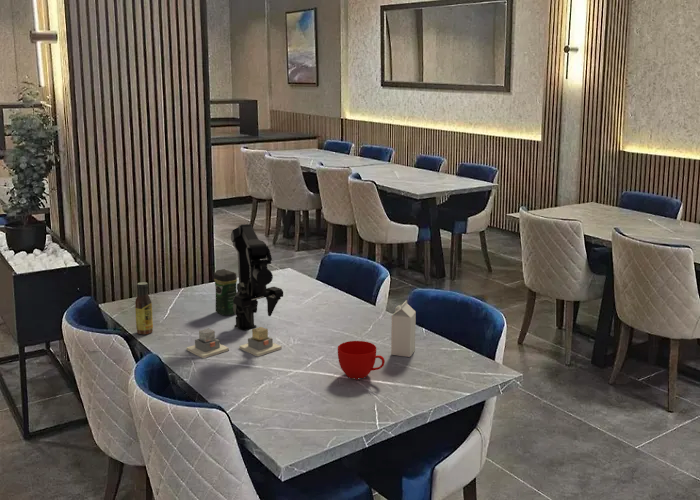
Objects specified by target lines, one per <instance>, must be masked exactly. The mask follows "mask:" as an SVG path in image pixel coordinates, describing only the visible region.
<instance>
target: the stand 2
mask: <svg viewBox="0 0 700 500" xmlns="http://www.w3.org/2000/svg"><path fill="white" fill-rule="evenodd" d="M273 339H274V338H272V337H270V336H268V339H267V340H263V341H260V342H258V341H256V340H253V338H252V337H251V336H250V337H247V343H244V344H241V345H239V346H238V347H239V349H240V350H241V351H244V352H246V353H249V354H251V355H253V356H255V357H261V356H263V355H267V354H270V353H273V352H276V351H279V350H282V345H280V344H277V343H274V342H273V341H274V340H273Z"/></svg>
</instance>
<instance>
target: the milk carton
mask: <svg viewBox="0 0 700 500" xmlns="http://www.w3.org/2000/svg"><path fill="white" fill-rule="evenodd" d="M394 310H395V312H394V313H393V314H391V344H390V345H391V347H390V355H391V356H400V357H409V358H411V356H412V355H413V354H414V352H415V350H416V322H417V321H416V318H417V317H416V313H417V312H416V310H415V309H414V308H412V306H411V305H409V304H408V301H407V299H406V300H405V301H404V302H403V303H402V304H399V305H397V306H396V307H395V308H394Z"/></svg>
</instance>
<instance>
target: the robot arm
mask: <svg viewBox="0 0 700 500" xmlns="http://www.w3.org/2000/svg"><path fill="white" fill-rule="evenodd" d="M230 240H231V243H232V246H233V247H234V249H235V250H236V251H237V252H236V253H237V267H238V268H237V269H238V270H237V271H238V283H236V291H237V293H236V296H235V297H234V299H233V304H234V305H233V311H234V313H235V314H234V315H235V316H236V317H235V325H234V327H235V328H236V329H239V330H241V331H247V330H250V329H251V330H252V329H255V328H257V325H256V324H255V317H254V316H255V315H254V314H257V312H258V304H259V301H258V300H261V299H264V298H265V300H266V303H267V316H268V317H271V316H272V315H273V312H274V310H275V308H276V306H277V304H278V302H279V301H280V300H281V299H282V298H283V297H284V291H283V289H282V288H280V287H277V286H271V287H267V285H269V284H270V283H271V282H272V281H273V278H274V277H273V276H274V275H273V272H272V271H271V270H270V269H269V268H268V265H272V260H273V258H272V253H271V250H270V248H269V246H268V245H267V244H266V242H265V241H264V240H260V239H259V237H258V236H257V233H256V231H255V228H254V225H253V224H251V223H249V224H248V223H243V224H240V225H238V227H236V228H234V229H232V230H231V233H230ZM237 309H238V310H237Z"/></svg>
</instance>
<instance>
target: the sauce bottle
mask: <svg viewBox="0 0 700 500" xmlns="http://www.w3.org/2000/svg"><path fill="white" fill-rule="evenodd" d="M136 287H137V296H136V299H135V301H134V302H135V303H134V304H135V305H134V306H135V323H136V324H135V325H136V326H135V327H136V332H137V334H138V335H149V334H151V333H153V329H154V322H153V318H154V317H153V304H152V303H153V302H152V300H151V298H150V295H149V292H148V291H149V288H148V287H149V284H148V282H146V281H143V282H142V281H141V282H138V283H137V284H136Z"/></svg>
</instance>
